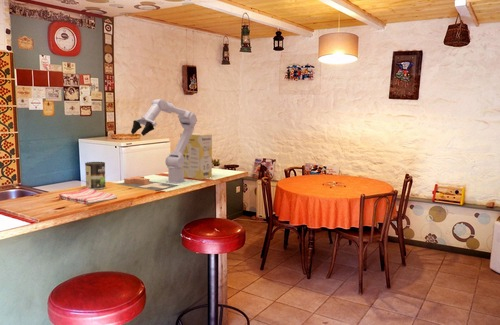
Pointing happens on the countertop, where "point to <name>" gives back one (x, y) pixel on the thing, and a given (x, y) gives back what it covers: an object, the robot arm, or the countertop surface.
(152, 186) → the slate mat
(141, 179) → the t block
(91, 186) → the coffee can
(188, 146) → the pasta box
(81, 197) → the dish towel
